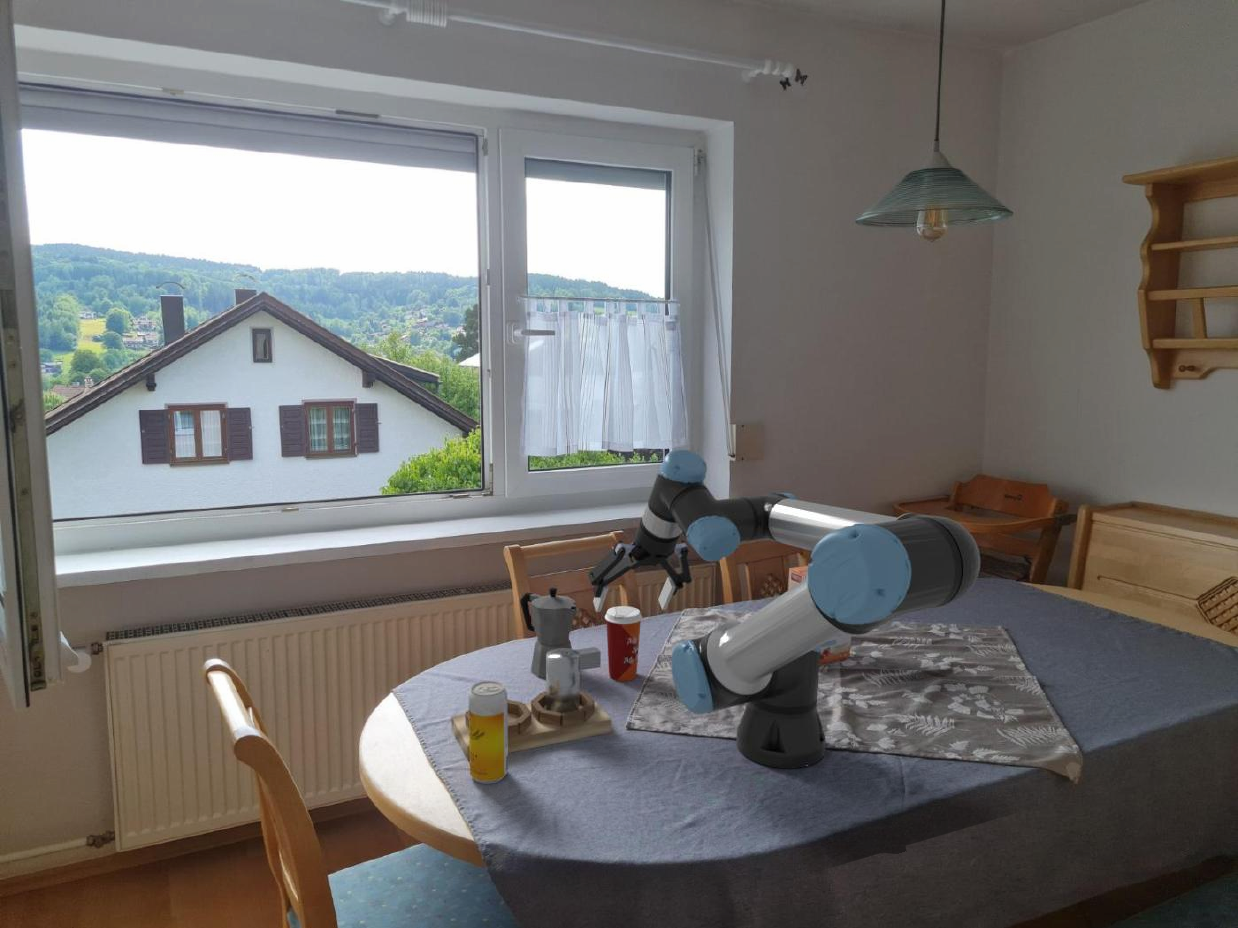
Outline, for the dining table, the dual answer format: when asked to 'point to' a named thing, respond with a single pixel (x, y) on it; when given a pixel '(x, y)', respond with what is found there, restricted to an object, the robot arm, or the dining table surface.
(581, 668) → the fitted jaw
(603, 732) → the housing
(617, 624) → the paper cup
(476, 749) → the beer can
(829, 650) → the cracker box
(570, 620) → the coffeepot
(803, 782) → the dining table surface
